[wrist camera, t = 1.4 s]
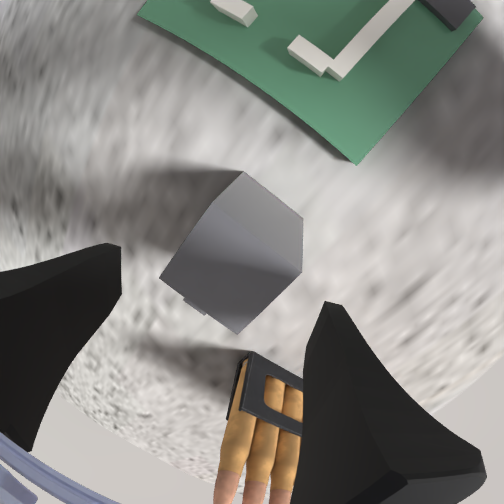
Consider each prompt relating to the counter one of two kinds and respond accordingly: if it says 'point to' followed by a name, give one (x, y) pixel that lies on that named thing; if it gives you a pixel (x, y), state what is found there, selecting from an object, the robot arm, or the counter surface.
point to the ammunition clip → (261, 433)
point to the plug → (238, 255)
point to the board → (328, 54)
